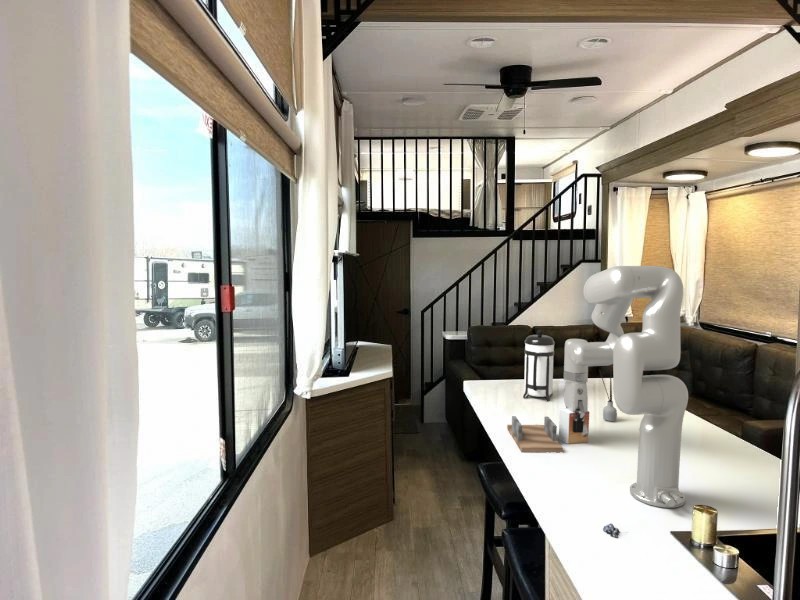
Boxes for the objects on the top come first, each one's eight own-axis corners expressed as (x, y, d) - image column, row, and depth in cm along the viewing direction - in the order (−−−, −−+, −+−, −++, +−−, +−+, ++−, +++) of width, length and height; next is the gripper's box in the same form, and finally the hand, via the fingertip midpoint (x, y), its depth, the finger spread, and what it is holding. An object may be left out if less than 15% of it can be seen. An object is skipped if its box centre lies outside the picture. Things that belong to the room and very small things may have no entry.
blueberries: (622, 527, 116) (622, 518, 116) (637, 543, 108) (637, 535, 108) (593, 526, 117) (593, 518, 117) (604, 542, 109) (604, 534, 109)
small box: (567, 444, 165) (568, 413, 165) (558, 438, 171) (559, 408, 170) (588, 442, 168) (590, 411, 167) (578, 436, 173) (579, 406, 172)
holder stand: (562, 452, 158) (563, 432, 158) (521, 452, 158) (521, 432, 158) (543, 429, 180) (544, 411, 180) (507, 428, 180) (507, 410, 180)
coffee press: (512, 394, 227) (513, 328, 224) (542, 391, 232) (544, 326, 229) (533, 404, 210) (535, 333, 208) (566, 401, 215) (568, 332, 213)
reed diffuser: (616, 425, 185) (619, 371, 183) (596, 422, 188) (598, 369, 186) (616, 417, 194) (618, 366, 193) (597, 415, 197) (599, 364, 195)
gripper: (596, 382, 159) (594, 437, 160) (578, 370, 176) (576, 420, 177) (573, 382, 159) (571, 437, 160) (556, 370, 176) (554, 419, 178)
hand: (573, 427), depth 169 cm, fingers open, 7 cm apart
